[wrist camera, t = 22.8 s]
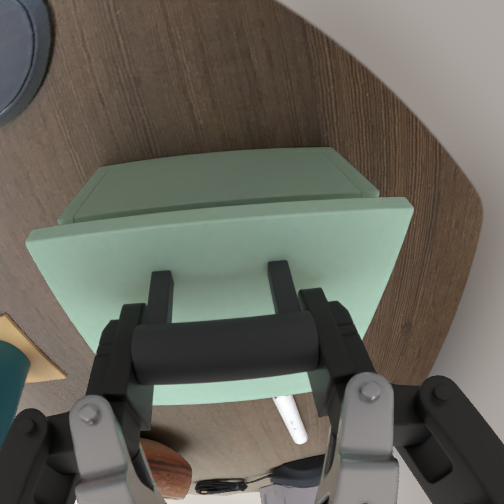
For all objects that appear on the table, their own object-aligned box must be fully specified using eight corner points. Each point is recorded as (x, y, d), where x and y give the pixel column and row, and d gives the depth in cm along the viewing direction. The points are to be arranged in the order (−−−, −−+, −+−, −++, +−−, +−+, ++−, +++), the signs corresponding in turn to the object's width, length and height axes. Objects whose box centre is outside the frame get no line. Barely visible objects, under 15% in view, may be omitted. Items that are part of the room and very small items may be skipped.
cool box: (99, 166, 17) (56, 220, 12) (331, 146, 18) (380, 191, 13) (147, 328, 25) (138, 394, 20) (314, 313, 26) (335, 376, 21)
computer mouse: (344, 457, 54) (350, 479, 50) (209, 487, 59) (210, 507, 55) (335, 448, 49) (342, 473, 44) (186, 480, 54) (187, 502, 49)
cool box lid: (31, 228, 10) (-20, 337, 6) (405, 195, 11) (475, 294, 7) (137, 395, 19) (135, 459, 16) (335, 377, 21) (352, 439, 17)
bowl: (98, 448, 41) (93, 499, 33) (77, 409, 33) (66, 477, 25) (188, 459, 45) (190, 511, 36) (194, 425, 36) (197, 495, 28)
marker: (265, 377, 31) (268, 396, 29) (285, 372, 30) (289, 391, 29) (292, 433, 41) (295, 447, 39) (306, 430, 41) (309, 444, 39)
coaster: (-37, 328, 23) (-38, 331, 23) (6, 312, 22) (4, 315, 22) (17, 381, 29) (16, 384, 29) (67, 375, 28) (66, 378, 28)
